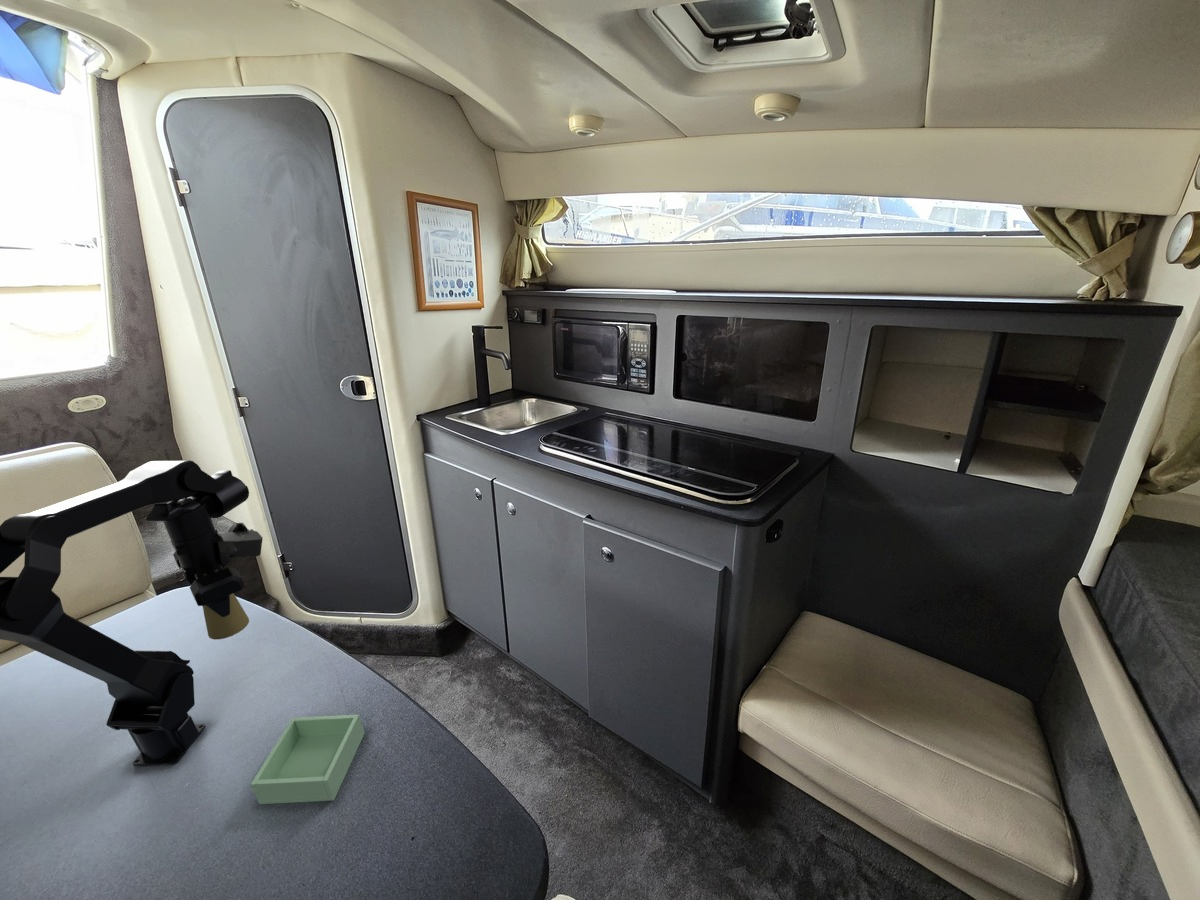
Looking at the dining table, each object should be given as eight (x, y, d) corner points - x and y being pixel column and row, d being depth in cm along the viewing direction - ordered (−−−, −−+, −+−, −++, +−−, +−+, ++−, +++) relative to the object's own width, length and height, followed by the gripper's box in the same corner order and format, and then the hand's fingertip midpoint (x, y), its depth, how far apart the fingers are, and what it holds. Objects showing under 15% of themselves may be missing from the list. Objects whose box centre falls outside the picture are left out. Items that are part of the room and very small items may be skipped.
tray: (259, 804, 68) (250, 784, 66) (299, 736, 77) (292, 717, 75) (334, 800, 68) (326, 780, 66) (364, 733, 77) (359, 714, 76)
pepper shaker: (228, 641, 84) (207, 588, 80) (199, 637, 85) (177, 585, 81) (257, 617, 90) (239, 566, 86) (229, 614, 91) (210, 563, 87)
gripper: (265, 531, 80) (291, 609, 86) (235, 498, 92) (259, 568, 98) (180, 562, 72) (214, 645, 78) (159, 521, 84) (190, 596, 90)
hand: (222, 609), depth 86 cm, fingers closed on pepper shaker, 4 cm apart
